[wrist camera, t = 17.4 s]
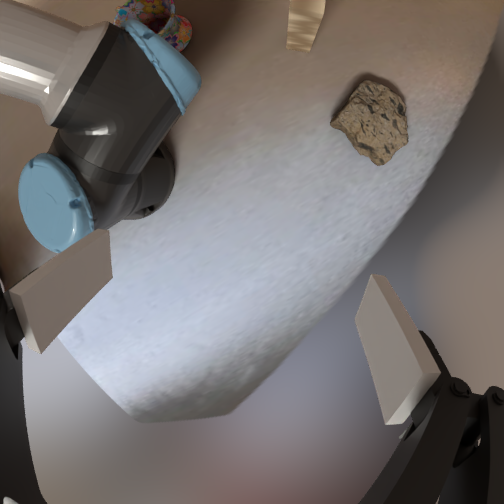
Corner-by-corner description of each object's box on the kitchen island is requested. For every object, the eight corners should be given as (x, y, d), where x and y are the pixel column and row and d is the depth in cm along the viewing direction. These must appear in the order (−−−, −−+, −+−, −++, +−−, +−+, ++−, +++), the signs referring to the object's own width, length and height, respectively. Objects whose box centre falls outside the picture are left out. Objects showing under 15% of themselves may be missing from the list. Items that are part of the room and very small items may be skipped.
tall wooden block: (286, 48, 35) (289, 7, 20) (289, 30, 34) (293, -17, 19) (309, 52, 35) (323, 13, 20) (311, 34, 34) (326, -11, 19)
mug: (207, 27, 34) (188, 2, 24) (172, 70, 38) (144, 56, 28) (155, 3, 32) (129, -20, 22) (124, 43, 35) (90, 29, 26)
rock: (415, 121, 37) (428, 121, 33) (373, 169, 41) (382, 173, 37) (368, 72, 35) (377, 67, 31) (322, 121, 39) (328, 120, 35)
